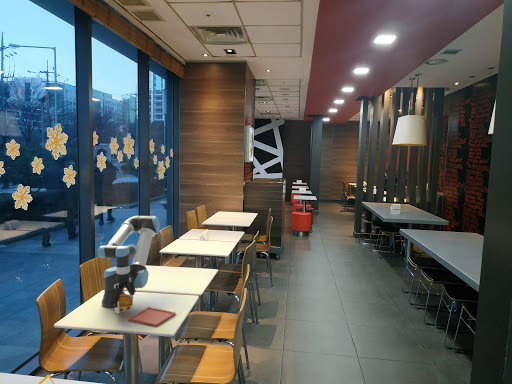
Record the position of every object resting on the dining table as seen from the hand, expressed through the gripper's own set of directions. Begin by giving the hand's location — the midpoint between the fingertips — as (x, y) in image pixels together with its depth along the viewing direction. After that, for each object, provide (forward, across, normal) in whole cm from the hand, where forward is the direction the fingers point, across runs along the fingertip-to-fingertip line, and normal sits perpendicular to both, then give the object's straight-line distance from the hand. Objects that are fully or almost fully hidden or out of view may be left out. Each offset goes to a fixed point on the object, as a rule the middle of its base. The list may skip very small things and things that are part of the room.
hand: (124, 308), depth 220 cm
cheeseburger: (+1, 0, 0) cm, 1 cm away
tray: (+4, +3, -18) cm, 19 cm away
